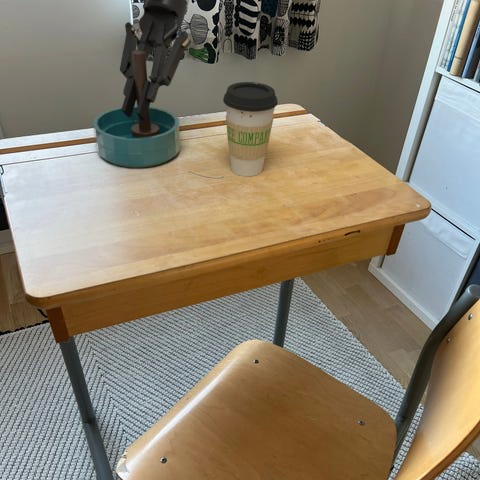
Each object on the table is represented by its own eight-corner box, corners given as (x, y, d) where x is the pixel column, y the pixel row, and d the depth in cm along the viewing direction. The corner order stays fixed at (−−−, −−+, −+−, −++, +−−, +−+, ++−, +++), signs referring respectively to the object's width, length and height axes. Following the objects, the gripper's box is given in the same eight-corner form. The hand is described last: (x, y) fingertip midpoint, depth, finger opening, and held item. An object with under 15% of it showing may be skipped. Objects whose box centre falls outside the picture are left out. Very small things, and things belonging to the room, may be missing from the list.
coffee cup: (214, 175, 98) (215, 94, 88) (231, 154, 105) (233, 77, 95) (263, 184, 96) (270, 103, 86) (277, 163, 103) (284, 85, 93)
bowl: (80, 154, 102) (74, 125, 98) (133, 127, 113) (131, 100, 109) (145, 177, 97) (143, 147, 92) (195, 147, 107) (195, 118, 103)
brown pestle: (125, 136, 103) (116, 52, 92) (143, 127, 107) (136, 45, 96) (147, 144, 101) (140, 58, 90) (165, 134, 105) (160, 51, 94)
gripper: (211, 16, 99) (176, 131, 99) (141, 5, 103) (107, 117, 103) (199, -12, 92) (162, 113, 92) (124, -22, 96) (88, 98, 96)
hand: (133, 115), depth 97 cm, fingers closed on brown pestle, 2 cm apart
